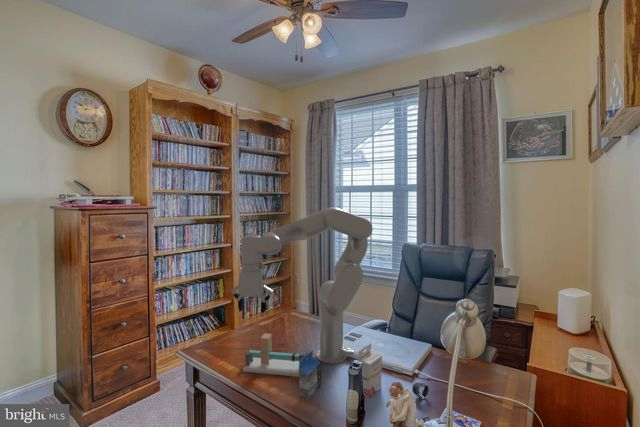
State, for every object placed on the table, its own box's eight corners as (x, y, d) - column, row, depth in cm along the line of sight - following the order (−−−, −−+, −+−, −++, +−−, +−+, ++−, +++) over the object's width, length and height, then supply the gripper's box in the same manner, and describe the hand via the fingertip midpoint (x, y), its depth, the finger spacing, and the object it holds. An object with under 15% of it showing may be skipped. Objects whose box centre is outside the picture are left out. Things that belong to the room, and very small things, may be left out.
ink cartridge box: (369, 399, 108) (369, 355, 107) (356, 393, 111) (357, 351, 110) (382, 387, 115) (382, 346, 114) (369, 382, 118) (370, 342, 117)
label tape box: (309, 400, 108) (309, 363, 107) (298, 396, 110) (298, 360, 109) (321, 386, 115) (322, 352, 115) (312, 383, 117) (312, 349, 116)
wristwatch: (412, 397, 109) (412, 382, 109) (425, 395, 110) (426, 380, 110) (416, 402, 106) (417, 387, 106) (430, 400, 107) (431, 385, 107)
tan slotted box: (271, 358, 130) (271, 333, 129) (268, 364, 125) (268, 338, 125) (264, 358, 130) (264, 333, 130) (260, 363, 126) (260, 338, 125)
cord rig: (308, 364, 130) (308, 347, 129) (304, 377, 121) (304, 358, 120) (251, 359, 134) (251, 342, 133) (242, 371, 125) (242, 353, 124)
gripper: (276, 265, 129) (276, 309, 130) (234, 264, 132) (235, 306, 133) (270, 270, 122) (270, 315, 123) (226, 268, 124) (227, 313, 126)
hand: (252, 310), depth 128 cm, fingers open, 8 cm apart
